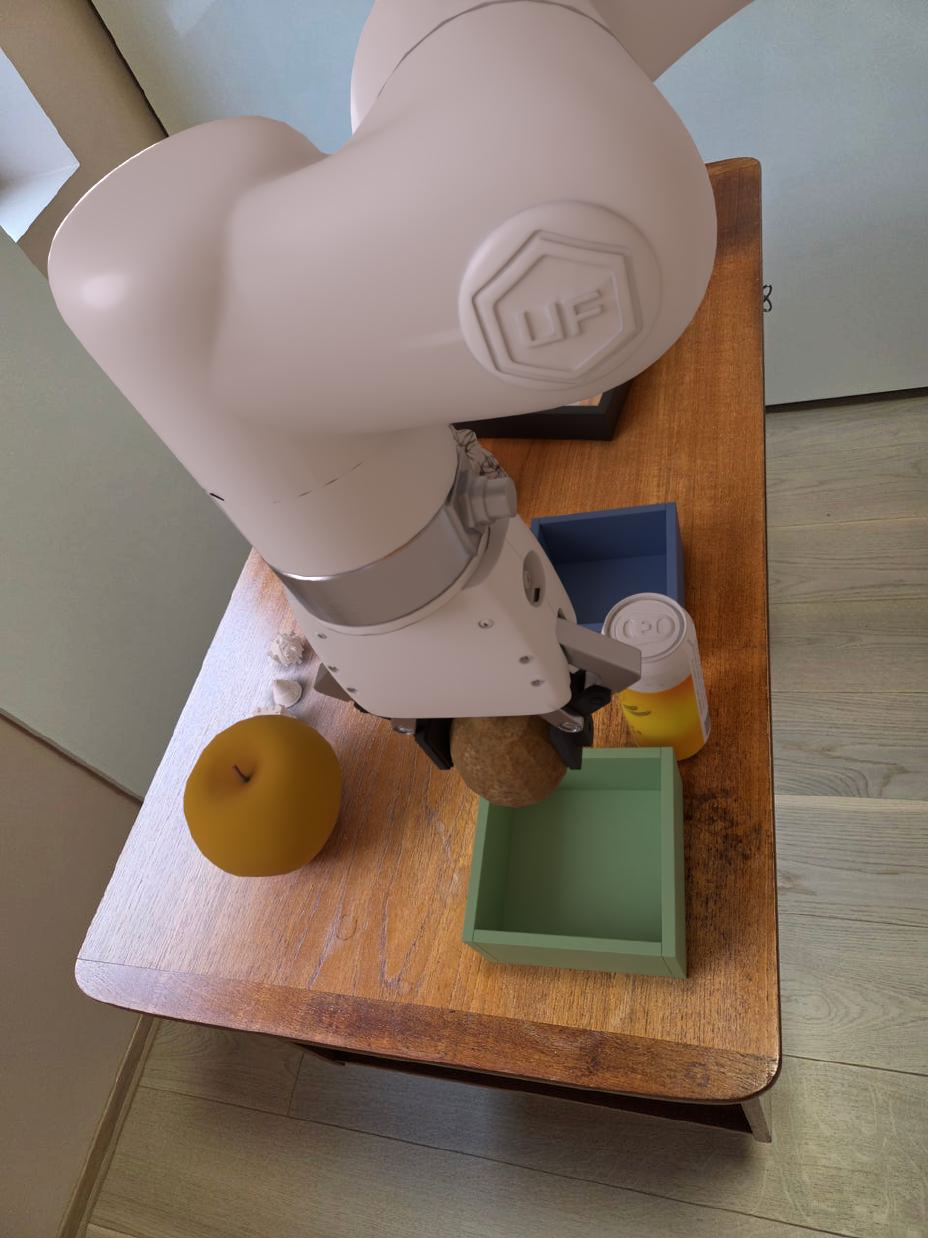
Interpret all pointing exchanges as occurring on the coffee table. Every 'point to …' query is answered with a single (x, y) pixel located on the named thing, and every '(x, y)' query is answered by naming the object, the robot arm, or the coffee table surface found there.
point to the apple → (263, 796)
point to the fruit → (506, 758)
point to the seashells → (284, 691)
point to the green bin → (586, 870)
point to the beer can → (662, 674)
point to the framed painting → (559, 420)
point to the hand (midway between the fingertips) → (511, 742)
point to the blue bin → (614, 556)
